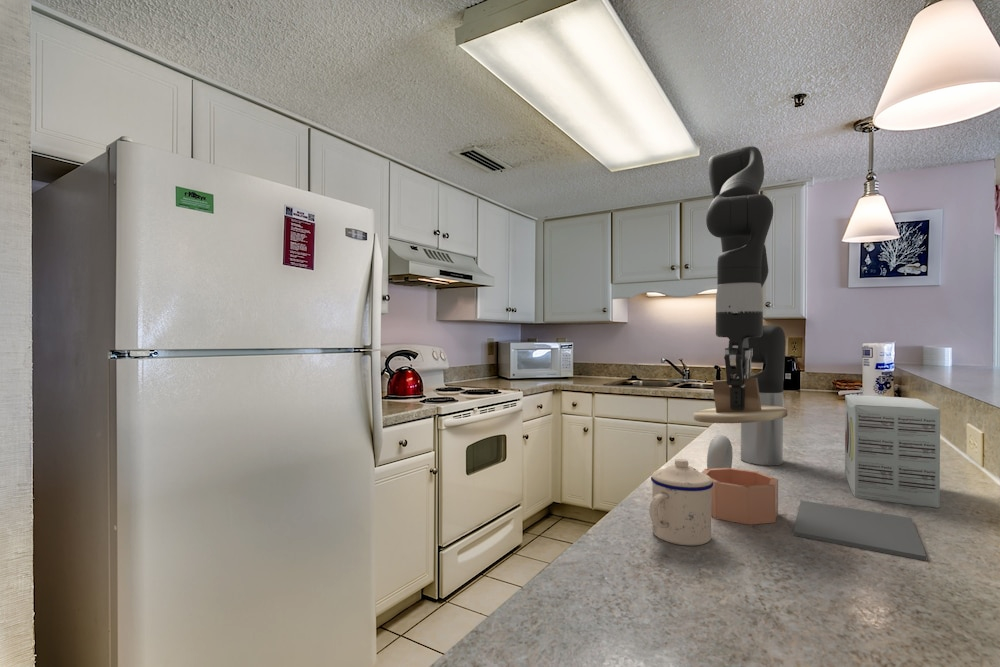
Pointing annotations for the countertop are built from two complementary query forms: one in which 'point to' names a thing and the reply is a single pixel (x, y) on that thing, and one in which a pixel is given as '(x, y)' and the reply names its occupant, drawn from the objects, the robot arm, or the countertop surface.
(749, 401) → the lid
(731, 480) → the bowl
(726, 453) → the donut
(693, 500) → the teacup with lid
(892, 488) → the supplement box
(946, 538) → the countertop surface
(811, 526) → the mat
